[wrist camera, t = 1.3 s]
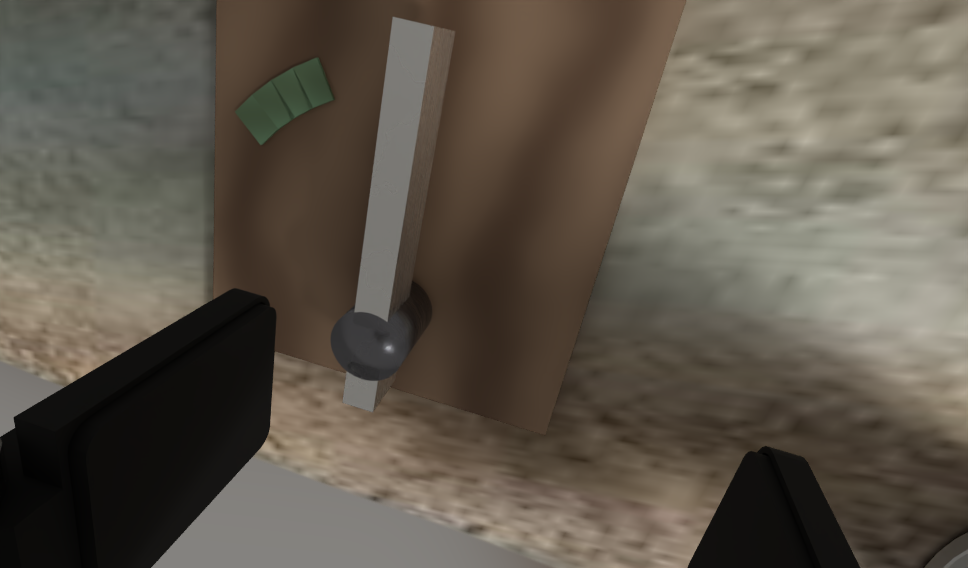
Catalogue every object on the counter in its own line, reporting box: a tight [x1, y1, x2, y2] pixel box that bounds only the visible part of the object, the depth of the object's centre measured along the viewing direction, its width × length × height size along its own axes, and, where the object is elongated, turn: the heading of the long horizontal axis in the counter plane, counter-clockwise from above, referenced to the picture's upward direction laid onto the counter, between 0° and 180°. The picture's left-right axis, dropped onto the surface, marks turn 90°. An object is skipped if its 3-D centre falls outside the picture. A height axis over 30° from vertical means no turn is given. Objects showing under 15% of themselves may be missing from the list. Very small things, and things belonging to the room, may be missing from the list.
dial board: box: [213, 0, 686, 435], centre depth 28 cm, size 21×23×2 cm
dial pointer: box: [330, 17, 455, 412], centre depth 26 cm, size 18×4×5 cm, turn 168°
